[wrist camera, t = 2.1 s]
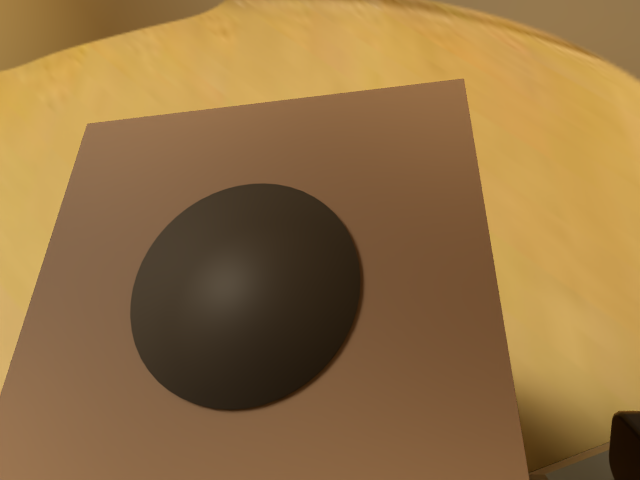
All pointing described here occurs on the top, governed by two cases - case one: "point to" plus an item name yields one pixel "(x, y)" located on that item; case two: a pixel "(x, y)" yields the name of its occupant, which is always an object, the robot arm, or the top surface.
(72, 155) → the top surface
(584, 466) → the tray
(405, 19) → the top surface
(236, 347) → the tall block
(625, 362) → the top surface
